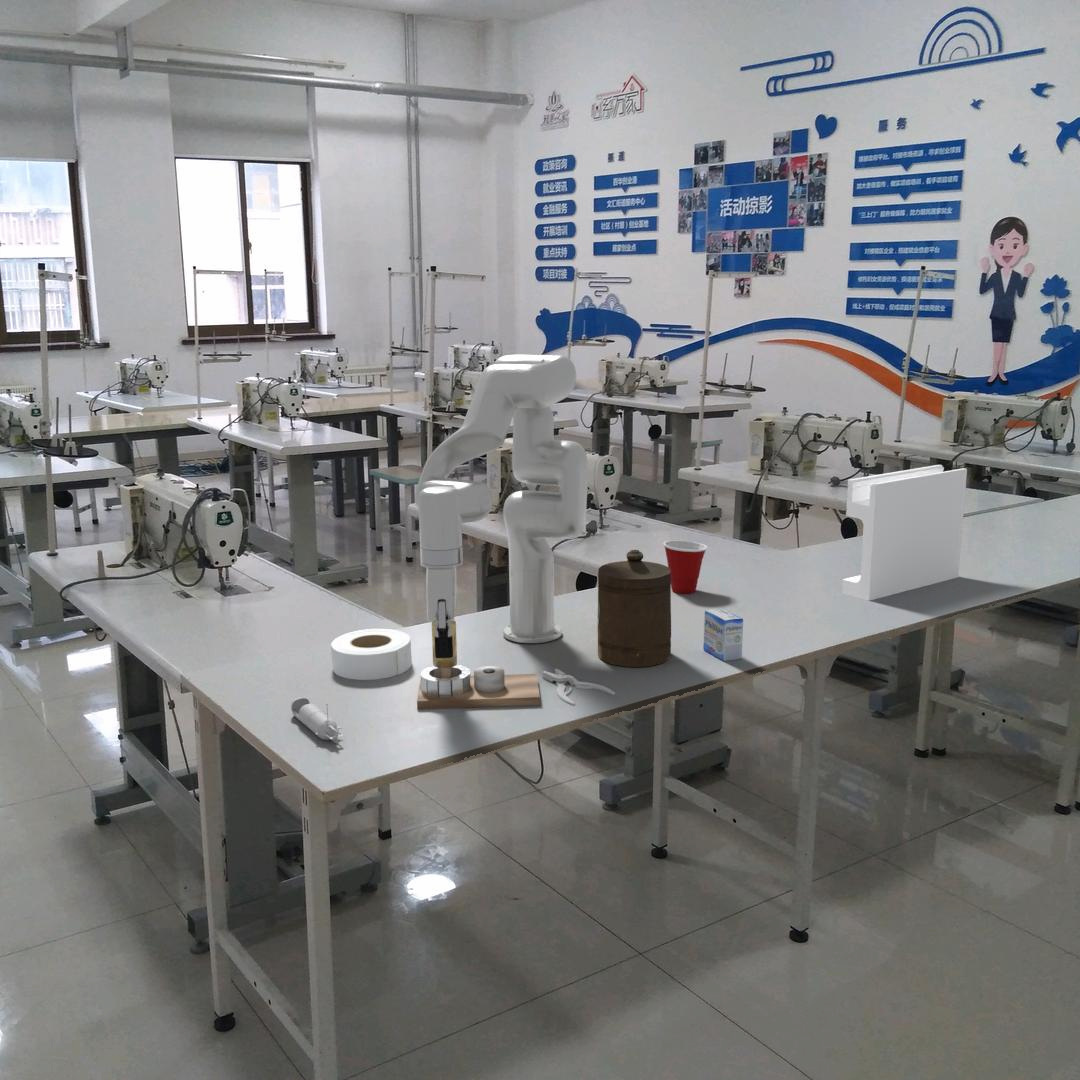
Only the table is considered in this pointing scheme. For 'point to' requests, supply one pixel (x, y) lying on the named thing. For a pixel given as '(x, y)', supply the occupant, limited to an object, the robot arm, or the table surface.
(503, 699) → the fitting board
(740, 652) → the medicine box
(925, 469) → the block
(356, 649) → the roll of tape
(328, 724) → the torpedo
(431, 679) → the ring
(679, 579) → the plastic cup
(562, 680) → the pliers
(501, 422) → the robot arm
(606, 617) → the wooden container
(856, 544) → the table surface
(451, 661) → the brass peg
